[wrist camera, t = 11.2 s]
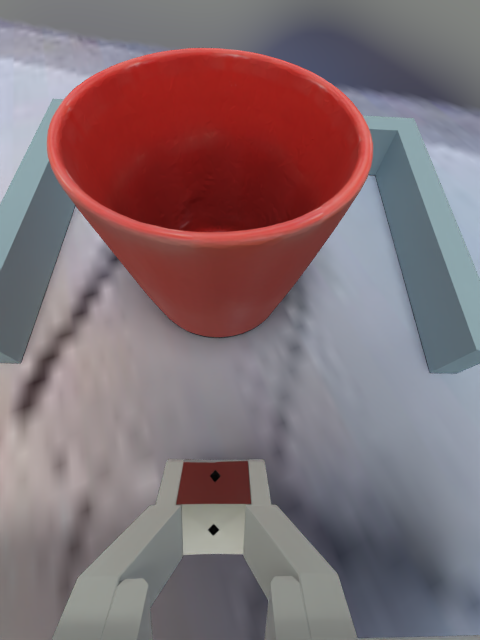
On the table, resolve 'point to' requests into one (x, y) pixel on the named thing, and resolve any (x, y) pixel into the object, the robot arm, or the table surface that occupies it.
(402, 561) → the table surface
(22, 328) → the tray frame
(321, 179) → the flower pot
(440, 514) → the table surface
